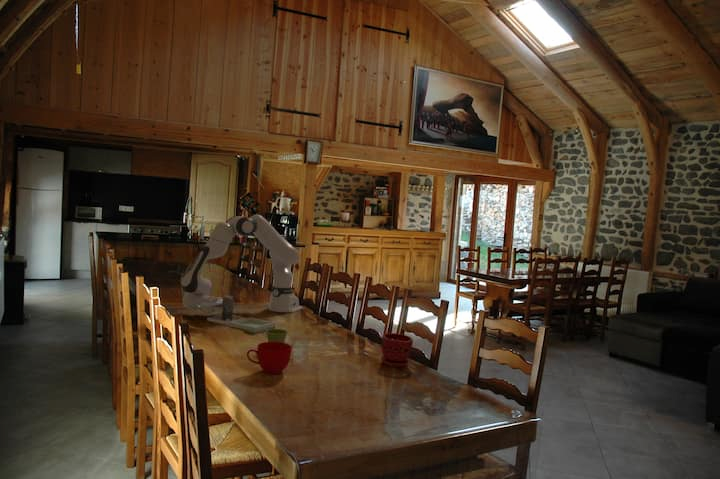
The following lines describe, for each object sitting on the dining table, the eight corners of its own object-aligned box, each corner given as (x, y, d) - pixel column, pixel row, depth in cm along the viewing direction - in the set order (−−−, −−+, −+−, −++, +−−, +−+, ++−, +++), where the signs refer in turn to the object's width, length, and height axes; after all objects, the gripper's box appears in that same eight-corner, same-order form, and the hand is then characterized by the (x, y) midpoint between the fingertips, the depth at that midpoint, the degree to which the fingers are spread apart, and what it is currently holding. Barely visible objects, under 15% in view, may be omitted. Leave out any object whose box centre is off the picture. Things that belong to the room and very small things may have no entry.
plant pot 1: (284, 354, 233) (285, 334, 233) (262, 353, 233) (264, 333, 233) (287, 349, 243) (289, 329, 242) (266, 347, 243) (268, 328, 242)
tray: (225, 318, 293) (226, 312, 292) (246, 322, 286) (246, 316, 286) (207, 322, 280) (207, 315, 280) (227, 327, 274) (228, 320, 274)
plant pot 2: (385, 369, 224) (387, 340, 223) (376, 359, 237) (378, 332, 236) (415, 368, 228) (417, 340, 227) (404, 359, 240) (406, 332, 239)
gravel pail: (226, 319, 287) (227, 293, 286) (234, 320, 284) (236, 295, 283) (219, 320, 282) (220, 295, 281) (227, 322, 279) (228, 296, 279)
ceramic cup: (243, 367, 212) (244, 342, 211) (285, 365, 218) (287, 341, 217) (248, 378, 200) (250, 351, 199) (293, 376, 206) (295, 350, 205)
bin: (250, 323, 286) (250, 317, 286) (274, 328, 279) (275, 322, 279) (229, 328, 272) (230, 322, 272) (255, 333, 265) (255, 327, 264)
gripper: (194, 301, 280) (214, 305, 273) (221, 296, 298) (241, 300, 291) (193, 313, 280) (214, 317, 274) (221, 307, 298) (240, 311, 292)
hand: (228, 308), depth 283 cm, fingers open, 8 cm apart
